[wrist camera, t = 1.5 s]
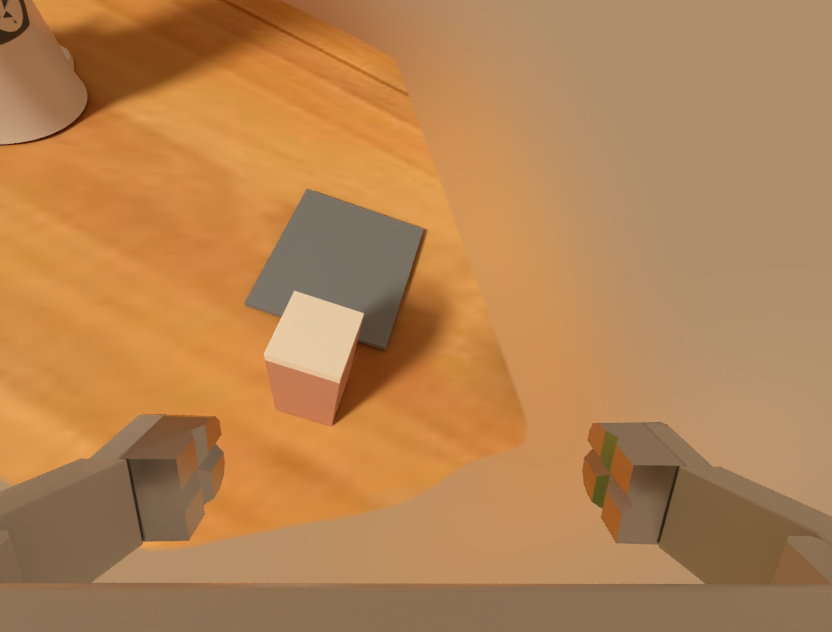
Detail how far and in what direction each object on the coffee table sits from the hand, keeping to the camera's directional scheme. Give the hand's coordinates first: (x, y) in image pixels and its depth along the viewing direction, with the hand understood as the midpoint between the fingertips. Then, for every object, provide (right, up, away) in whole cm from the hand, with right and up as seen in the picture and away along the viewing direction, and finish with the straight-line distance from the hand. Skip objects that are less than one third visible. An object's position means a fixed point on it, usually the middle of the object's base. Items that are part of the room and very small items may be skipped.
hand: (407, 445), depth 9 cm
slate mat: (-8, +8, +36) cm, 38 cm away
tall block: (-9, -4, +29) cm, 31 cm away
